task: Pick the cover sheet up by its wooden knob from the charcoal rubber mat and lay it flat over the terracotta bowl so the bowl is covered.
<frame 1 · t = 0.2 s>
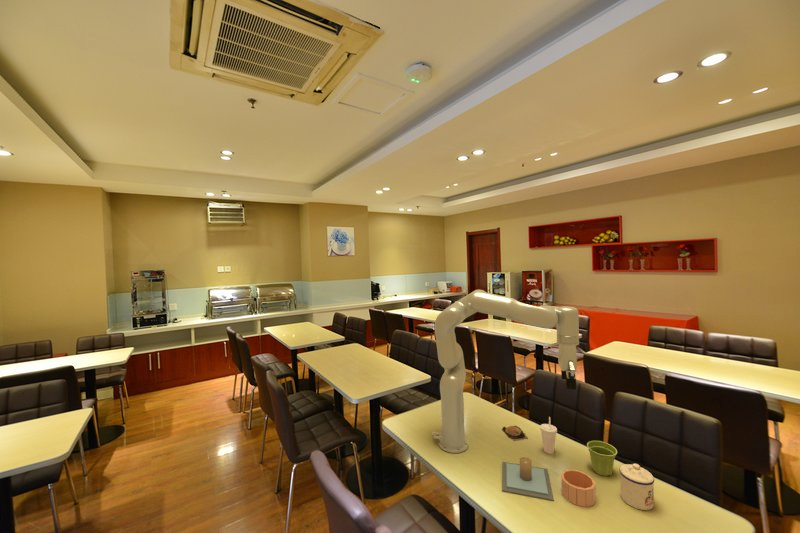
hand: (568, 383, 122), 31 cm above the table, tool pointing down, fingers open, 9 cm apart
mat: (525, 480, 114), on the table
plant pot: (602, 471, 118), on the table
smoothie: (548, 451, 131), on the table
bread roll: (514, 435, 145), on the table
teacup with lid: (637, 498, 105), on the table
cover sheet: (525, 469, 114), on the mat
bowl: (578, 495, 106), on the table
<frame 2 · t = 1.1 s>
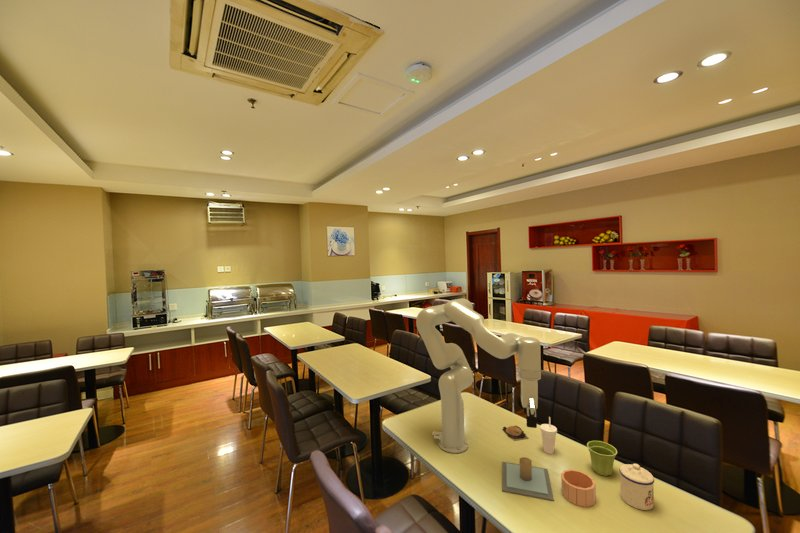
hand: (530, 420, 115), 21 cm above the table, tool pointing down, fingers open, 9 cm apart
nothing on the table moved.
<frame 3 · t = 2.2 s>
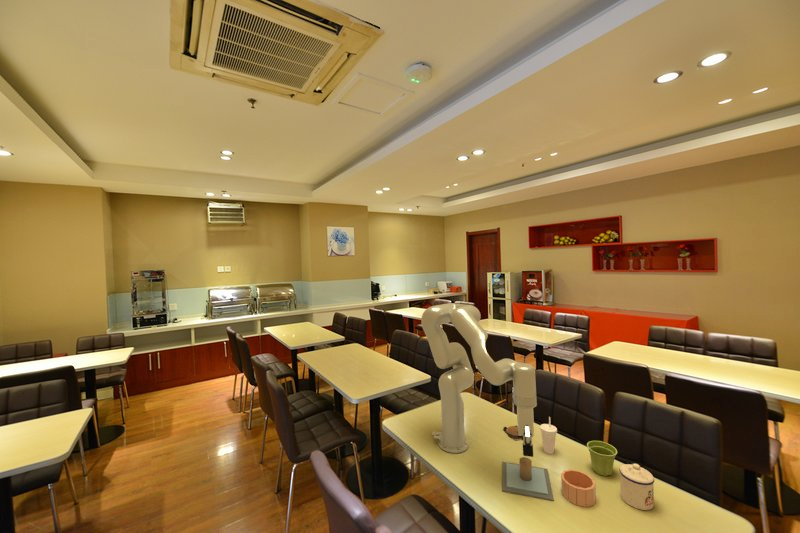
hand: (527, 447, 113), 12 cm above the table, tool pointing down, fingers open, 9 cm apart
nothing on the table moved.
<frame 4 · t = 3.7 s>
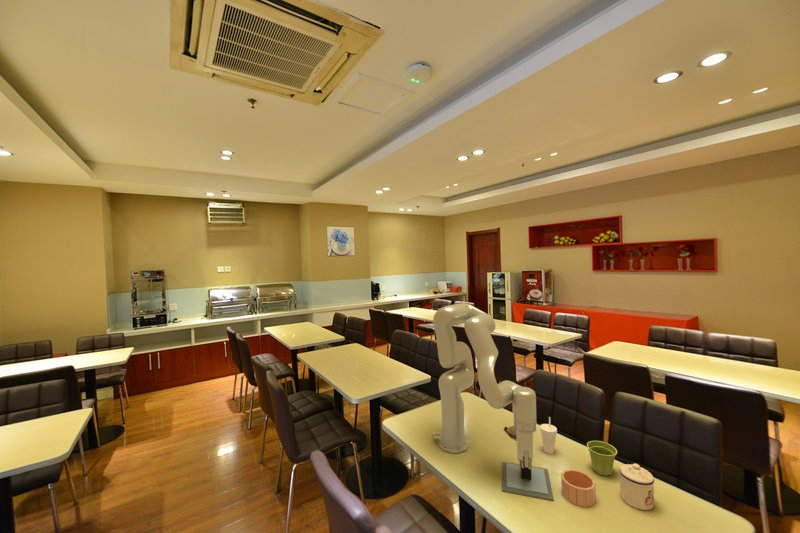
hand: (525, 473, 114), 2 cm above the table, tool pointing down, fingers closed on cover sheet, 4 cm apart
cover sheet: (525, 469, 114), on the mat, touching gripper
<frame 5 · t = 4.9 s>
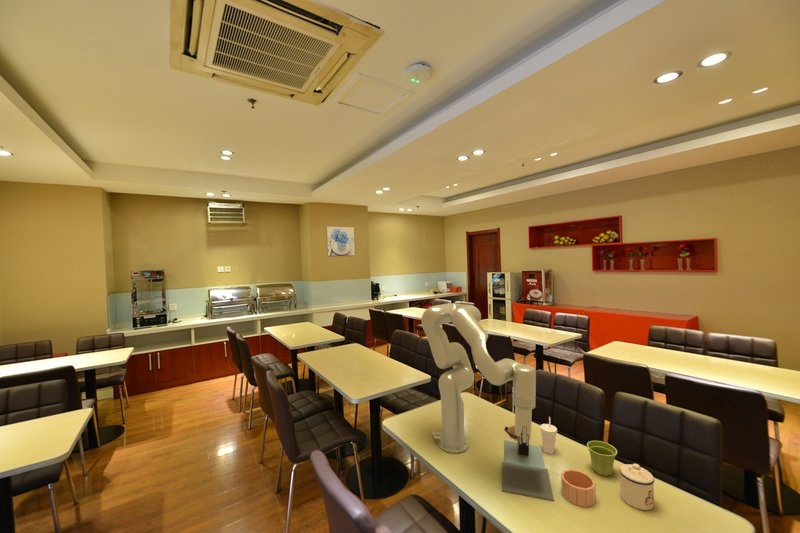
hand: (523, 450, 115), 11 cm above the table, tool pointing down, fingers closed on cover sheet, 4 cm apart
cover sheet: (523, 446, 114), point 12 cm above the table, touching gripper
everything else where it was.
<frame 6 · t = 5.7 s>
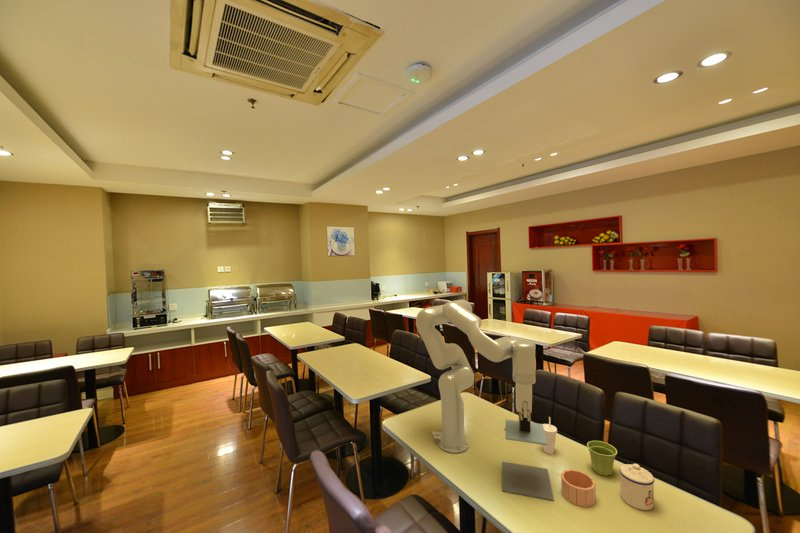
hand: (524, 427, 114), 19 cm above the table, tool pointing down, fingers closed on cover sheet, 4 cm apart
cover sheet: (524, 423, 114), point 21 cm above the table, touching gripper
when the fingers open (9 cm above the table, at t = 9.0 s): cover sheet drops 2 cm, resting on bowl.
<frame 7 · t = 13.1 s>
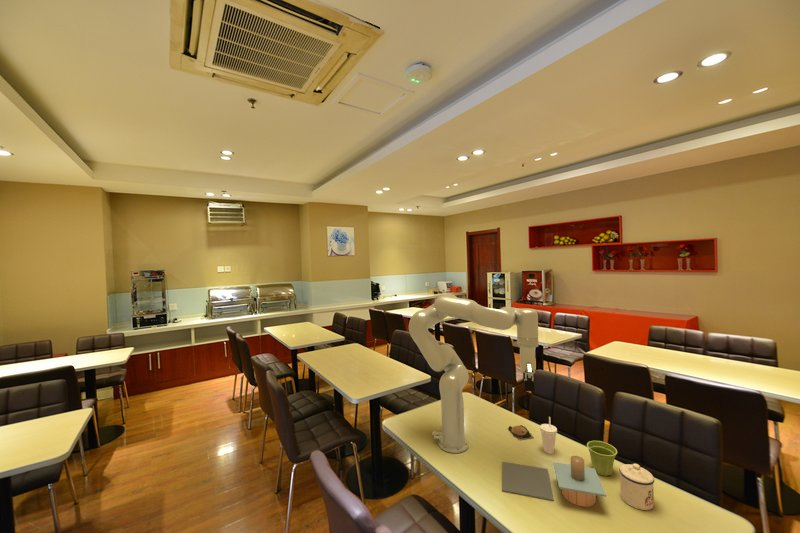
hand: (528, 385, 122), 30 cm above the table, tool pointing down, fingers open, 9 cm apart
bread roll: (520, 434, 145), on the table
cover sheet: (577, 469, 106), on the bowl, point 9 cm above the table
everything else where it was.
at the end: cover sheet 0.1 cm from the bowl (horizontally); cover sheet point 8.8 cm above the table; the gripper is holding nothing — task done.
